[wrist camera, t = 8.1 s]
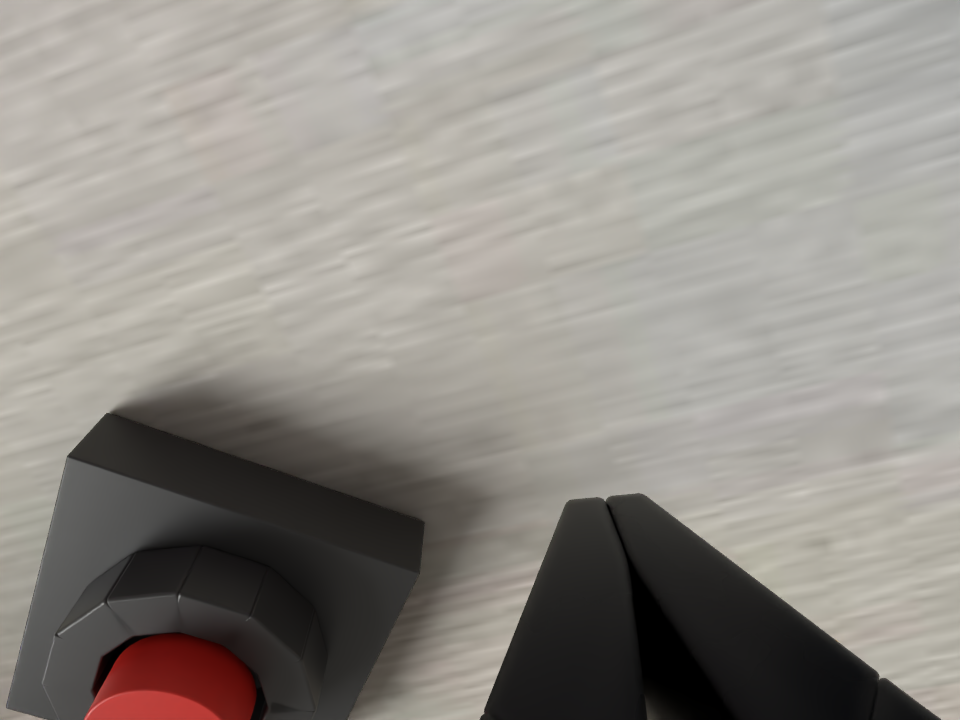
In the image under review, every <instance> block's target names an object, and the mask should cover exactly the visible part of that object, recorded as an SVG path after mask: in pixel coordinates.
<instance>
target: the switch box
mask: <svg viewBox="0 0 960 720" xmlns="http://www.w3.org/2000/svg"><path fill="white" fill-rule="evenodd" d="M423 534H424V522H423V521H420V520H417V519H414V518H411V517H408V516H405V515H402V514H400V513H397V512H394V511H391V510H388V509H385V508H382V507H379V506H376V505H373V504H371V503H368V502H365V501H362V500H359V499H356V498H353V497H350V496H347V495H344V494H342V493H339V492H336V491H333V490H330V489H327V488H324V487H321V486H318V485H316V484H313V483H310V482H307V481H304V480H301V479H298V478H295V477H292V476H289V475H287V474H284V473H281V472H278V471H275V470H272V469H269V468H266V467H263V466H260V465H258V464H255V463H252V462H249V461H246V460H243V459H240V458H237V457H234V456H231V455H229V454H226V453H223V452H220V451H217V450H214V449H211V448H208V447H205V446H202V445H200V444H197V443H194V442H191V441H188V440H185V439H182V438H179V437H176V436H173V435H171V434H168V433H165V432H162V431H159V430H156V429H153V428H150V427H147V426H145V425H142V424H139V423H136V422H133V421H130V420H127V419H124V418H121V417H118V416H116V415H113V414H110V413H106V414H105V415H104V417H103V418H102V419H101V420H100V421H99V422H98V423H97V424H96V425H95V426H94V427H93V429H92V430H91V431H90V432H89V433H88V434H87V435H86V436H85V437H84V438H83V440H82V441H81V442H80V443H79V444H78V445H77V446H76V447H75V448H74V449H73V450H72V452H71V453H70V454H69V455H68V456H67V459H66V464H65V468H64V472H63V476H62V480H61V484H60V488H59V492H58V496H57V500H56V504H55V509H54V513H53V517H52V521H51V525H50V529H49V533H48V537H47V541H46V545H45V549H44V554H43V558H42V562H41V566H40V570H39V574H38V578H37V582H36V586H35V590H34V594H33V599H32V603H31V607H30V611H29V615H28V619H27V623H26V627H25V631H24V635H23V640H22V644H21V648H20V652H19V656H18V660H17V664H16V668H15V672H14V676H13V680H12V685H11V689H10V693H9V697H8V701H7V705H6V708H7V709H11V710H14V711H18V712H22V713H25V714H29V715H33V716H36V717H40V718H44V719H47V720H84V718H85V716H86V714H87V712H88V710H89V708H90V707H91V705H92V703H93V701H94V699H95V698H96V696H97V694H98V692H99V690H100V688H101V687H102V685H103V683H104V681H105V679H106V678H107V676H108V674H109V672H110V670H111V669H112V667H113V665H114V663H115V661H116V660H117V658H118V657H119V655H120V654H121V653H122V652H123V651H124V650H125V649H126V648H128V647H129V646H130V645H132V644H133V643H135V642H137V641H139V640H141V639H143V638H146V637H149V636H153V635H157V634H164V633H184V634H187V635H191V636H194V637H197V638H201V639H204V640H207V641H211V642H214V643H217V644H221V645H223V646H224V647H226V648H227V649H228V650H230V651H231V652H232V653H233V654H234V655H235V656H237V657H238V658H239V659H240V660H241V661H242V662H244V663H245V664H246V666H247V667H248V669H249V670H250V672H251V674H252V676H253V678H254V681H255V685H256V692H257V697H256V703H255V706H254V710H253V713H252V716H251V719H250V720H347V718H348V716H349V714H350V712H351V710H352V708H353V706H354V704H355V702H356V700H357V698H358V696H359V694H360V692H361V690H362V688H363V686H364V684H365V682H366V680H367V678H368V676H369V674H370V672H371V670H372V668H373V666H374V664H375V662H376V660H377V658H378V656H379V654H380V652H381V650H382V648H383V646H384V644H385V642H386V640H387V638H388V636H389V634H390V632H391V630H392V628H393V626H394V624H395V622H396V620H397V618H398V616H399V614H400V612H401V610H402V608H403V606H404V604H405V602H406V600H407V598H408V596H409V594H410V592H411V590H412V588H413V586H414V584H415V582H416V580H417V578H418V576H419V574H420V566H421V555H422V545H423Z"/></svg>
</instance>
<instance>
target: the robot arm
mask: <svg viewBox="0 0 960 720" xmlns="http://www.w3.org/2000/svg"><path fill="white" fill-rule="evenodd" d="M480 720H941V719H940V718H939V717H937V716H936V715H934V714H933V713H932V712H930V711H929V710H928V709H926V708H925V707H923V706H922V705H921V704H919V703H918V702H917V701H915V700H914V699H913V698H911V697H910V696H909V695H908V694H906V693H905V692H904V691H902V690H901V689H900V688H898V687H897V686H896V685H894V684H893V683H892V682H890V681H889V680H888V679H886V678H881V679H880V680H879V674H878V672H877V671H875V670H874V669H873V668H872V667H870V666H869V665H868V664H866V663H865V662H864V661H862V660H861V659H860V658H858V657H857V656H856V655H854V654H853V653H852V652H850V651H849V650H848V649H847V648H845V647H844V646H843V645H841V644H840V643H839V642H837V641H836V640H835V639H833V638H832V637H831V636H829V635H828V634H827V633H826V632H824V631H823V630H822V629H820V628H819V627H818V626H816V625H815V624H814V623H812V622H811V621H810V620H808V619H807V618H806V617H804V616H803V615H802V614H801V613H799V612H798V611H797V610H795V609H794V608H793V607H791V606H790V605H789V604H787V603H786V602H785V601H783V600H782V599H781V598H780V597H778V596H777V595H776V594H774V593H773V592H772V591H770V590H769V589H768V588H766V587H765V586H764V585H762V584H761V583H760V582H758V581H757V580H756V579H755V578H753V577H752V576H751V575H749V574H748V573H747V572H745V571H744V570H743V569H741V568H740V567H739V566H737V565H736V564H735V563H734V562H732V561H731V560H730V559H728V558H727V557H726V556H724V555H723V554H722V553H720V552H719V551H718V550H716V549H715V548H714V547H713V546H711V545H710V544H709V543H707V542H706V541H705V540H703V539H702V538H701V537H699V536H698V535H697V534H695V533H694V532H693V531H691V530H690V529H689V528H688V527H686V526H685V525H684V524H682V523H681V522H680V521H678V520H677V519H676V518H674V517H673V516H672V515H670V514H669V513H668V512H667V511H665V510H664V509H663V508H661V507H660V506H659V505H657V504H656V503H655V502H653V501H652V500H651V499H649V498H648V497H647V496H645V495H643V494H640V493H636V494H627V495H616V496H610V497H608V498H607V499H606V502H605V501H604V499H602V498H599V497H596V498H585V499H574V500H569V501H568V502H567V503H566V505H565V507H564V509H563V512H562V514H561V517H560V519H559V522H558V524H557V527H556V529H555V532H554V534H553V537H552V540H551V542H550V545H549V547H548V550H547V552H546V555H545V557H544V560H543V562H542V565H541V567H540V570H539V572H538V575H537V577H536V580H535V582H534V585H533V588H532V590H531V593H530V595H529V598H528V600H527V603H526V605H525V608H524V610H523V613H522V615H521V618H520V620H519V623H518V625H517V628H516V631H515V633H514V636H513V638H512V641H511V643H510V646H509V648H508V651H507V653H506V656H505V658H504V661H503V663H502V666H501V668H500V671H499V673H498V676H497V679H496V681H495V684H494V686H493V689H492V691H491V694H490V696H489V699H488V701H487V704H486V706H485V709H484V714H483V715H482V716H481V718H480Z"/></svg>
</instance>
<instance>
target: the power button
mask: <svg viewBox="0 0 960 720" xmlns="http://www.w3.org/2000/svg"><path fill="white" fill-rule="evenodd" d="M256 697H257V692H256V685H255V681H254V678H253V676H252V674H251V672H250V670H249V669H248V667H247V666H246V664H245V663H244V662H242V661H241V660H240V659H239V658H238V657H237V656H235V655H234V654H233V653H232V652H231V651H230V650H228V649H227V648H226V647H224V646H223V645H221V644H217V643H214V642H211V641H207V640H204V639H201V638H197V637H194V636H191V635H187V634H184V633H164V634H157V635H153V636H149V637H146V638H143V639H141V640H139V641H137V642H135V643H133V644H132V645H130V646H129V647H128V648H126V649H125V650H124V651H123V652H122V653H121V654H120V655H119V657H118V658H117V660H116V661H115V663H114V665H113V667H112V669H111V670H110V672H109V674H108V676H107V678H106V679H105V681H104V683H103V685H102V687H101V688H100V690H99V692H98V694H97V696H96V698H95V699H94V701H93V703H92V705H91V707H90V708H89V710H88V712H87V714H86V716H85V718H84V720H250V719H251V716H252V713H253V710H254V706H255V703H256Z"/></svg>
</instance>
